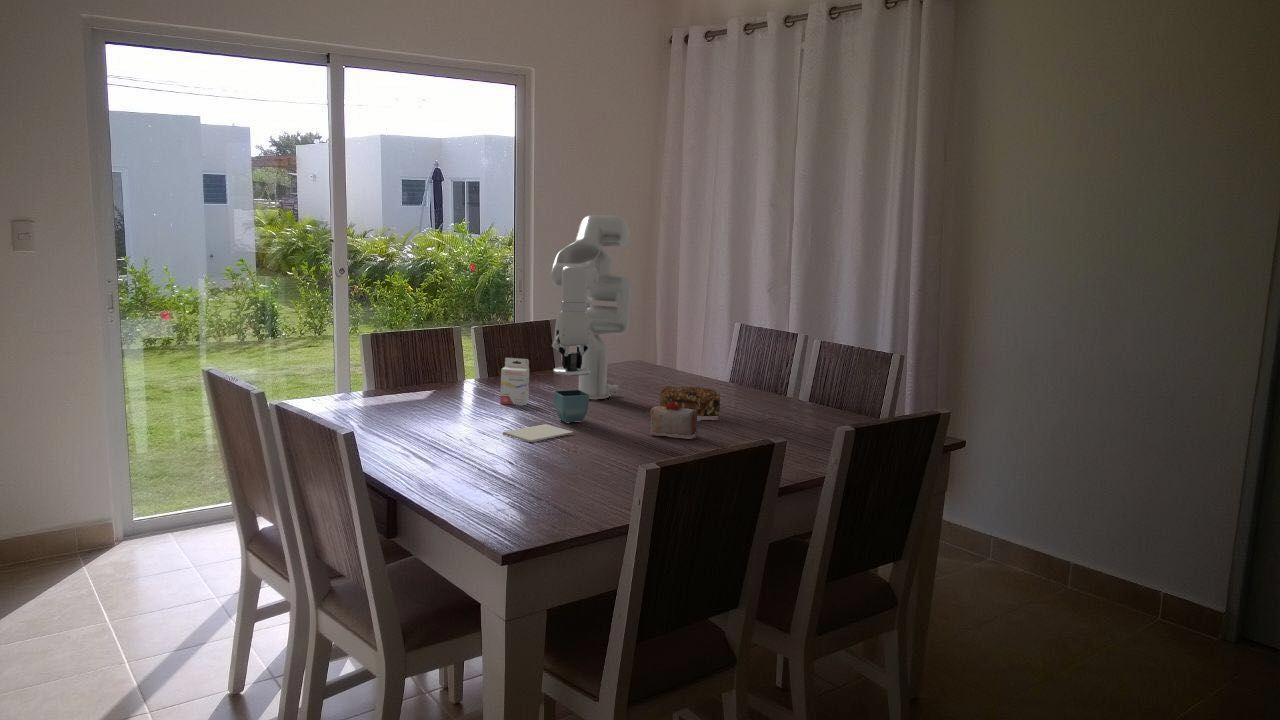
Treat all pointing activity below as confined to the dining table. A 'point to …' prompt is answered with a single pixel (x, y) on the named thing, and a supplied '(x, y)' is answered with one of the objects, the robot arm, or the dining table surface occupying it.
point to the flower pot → (571, 404)
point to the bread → (692, 399)
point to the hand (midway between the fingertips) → (571, 367)
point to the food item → (673, 420)
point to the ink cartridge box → (515, 382)
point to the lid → (572, 367)
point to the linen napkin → (536, 432)
